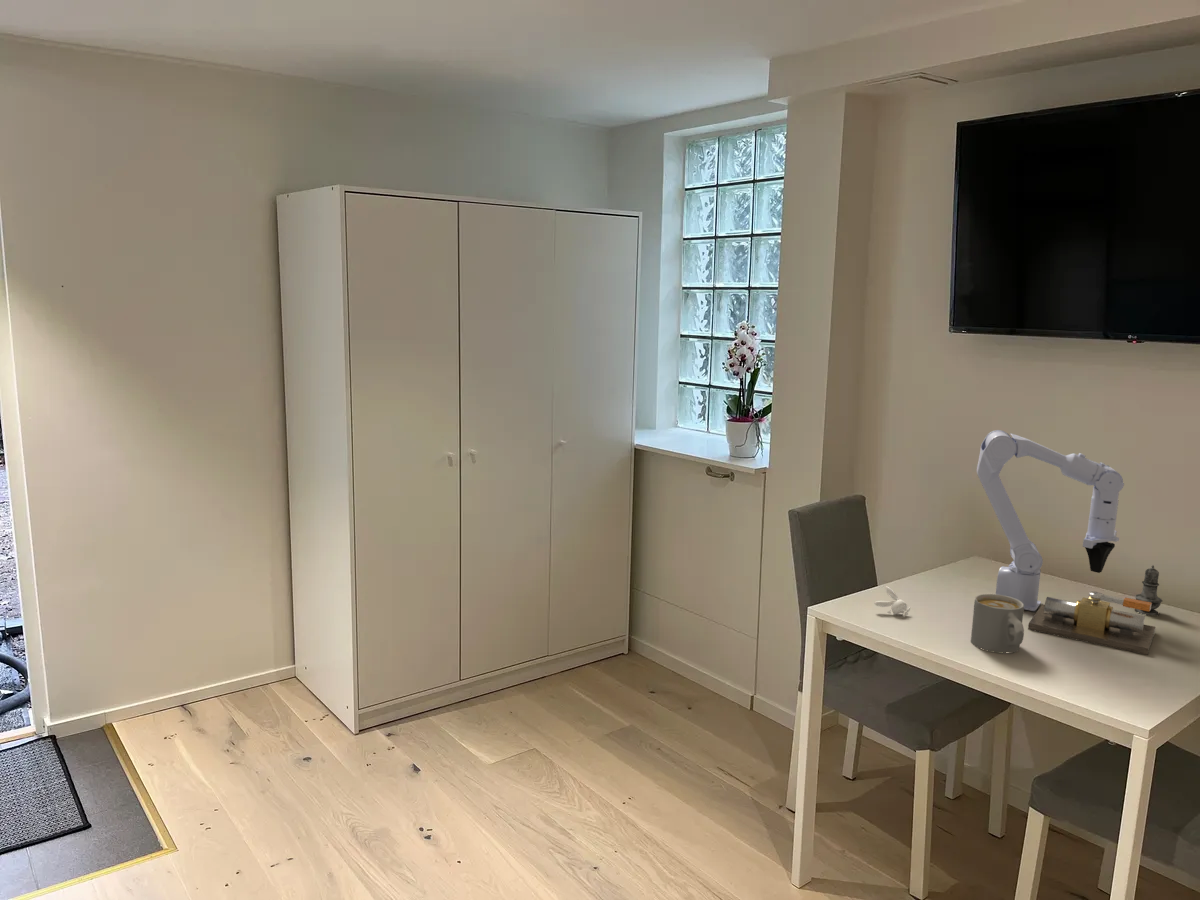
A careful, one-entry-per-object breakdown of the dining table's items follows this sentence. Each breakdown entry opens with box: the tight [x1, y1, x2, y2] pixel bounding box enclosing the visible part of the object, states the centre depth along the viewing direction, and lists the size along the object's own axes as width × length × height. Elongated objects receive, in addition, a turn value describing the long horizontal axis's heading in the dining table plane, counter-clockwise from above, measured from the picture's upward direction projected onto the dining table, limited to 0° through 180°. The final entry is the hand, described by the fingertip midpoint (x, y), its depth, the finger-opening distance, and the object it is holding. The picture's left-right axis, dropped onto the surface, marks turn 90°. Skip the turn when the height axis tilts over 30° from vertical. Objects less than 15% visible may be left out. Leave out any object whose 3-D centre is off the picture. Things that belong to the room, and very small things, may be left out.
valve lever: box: [1088, 590, 1152, 611], centre depth 209 cm, size 12×3×2 cm, turn 51°
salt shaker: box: [1134, 565, 1163, 616], centre depth 225 cm, size 6×6×12 cm
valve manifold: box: [1027, 596, 1156, 656], centre depth 212 cm, size 24×16×8 cm, turn 54°
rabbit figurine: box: [874, 585, 911, 618], centre depth 222 cm, size 6×4×8 cm
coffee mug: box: [970, 593, 1025, 654], centre depth 201 cm, size 13×10×10 cm
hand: (1096, 571), depth 223 cm, fingers closed
